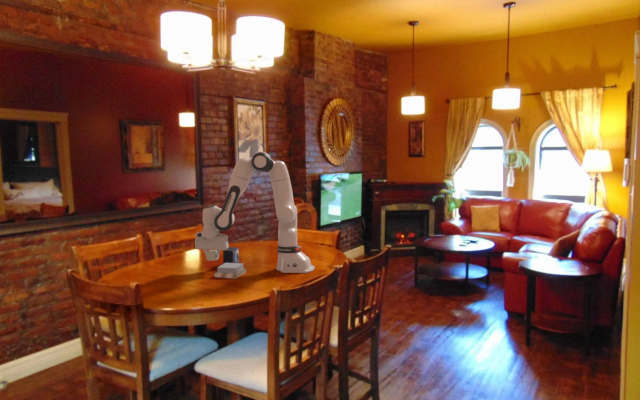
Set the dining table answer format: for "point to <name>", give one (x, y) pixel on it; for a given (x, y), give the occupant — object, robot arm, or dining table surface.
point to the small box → (231, 255)
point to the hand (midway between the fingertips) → (212, 256)
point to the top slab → (230, 268)
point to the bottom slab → (230, 274)
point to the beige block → (211, 255)
